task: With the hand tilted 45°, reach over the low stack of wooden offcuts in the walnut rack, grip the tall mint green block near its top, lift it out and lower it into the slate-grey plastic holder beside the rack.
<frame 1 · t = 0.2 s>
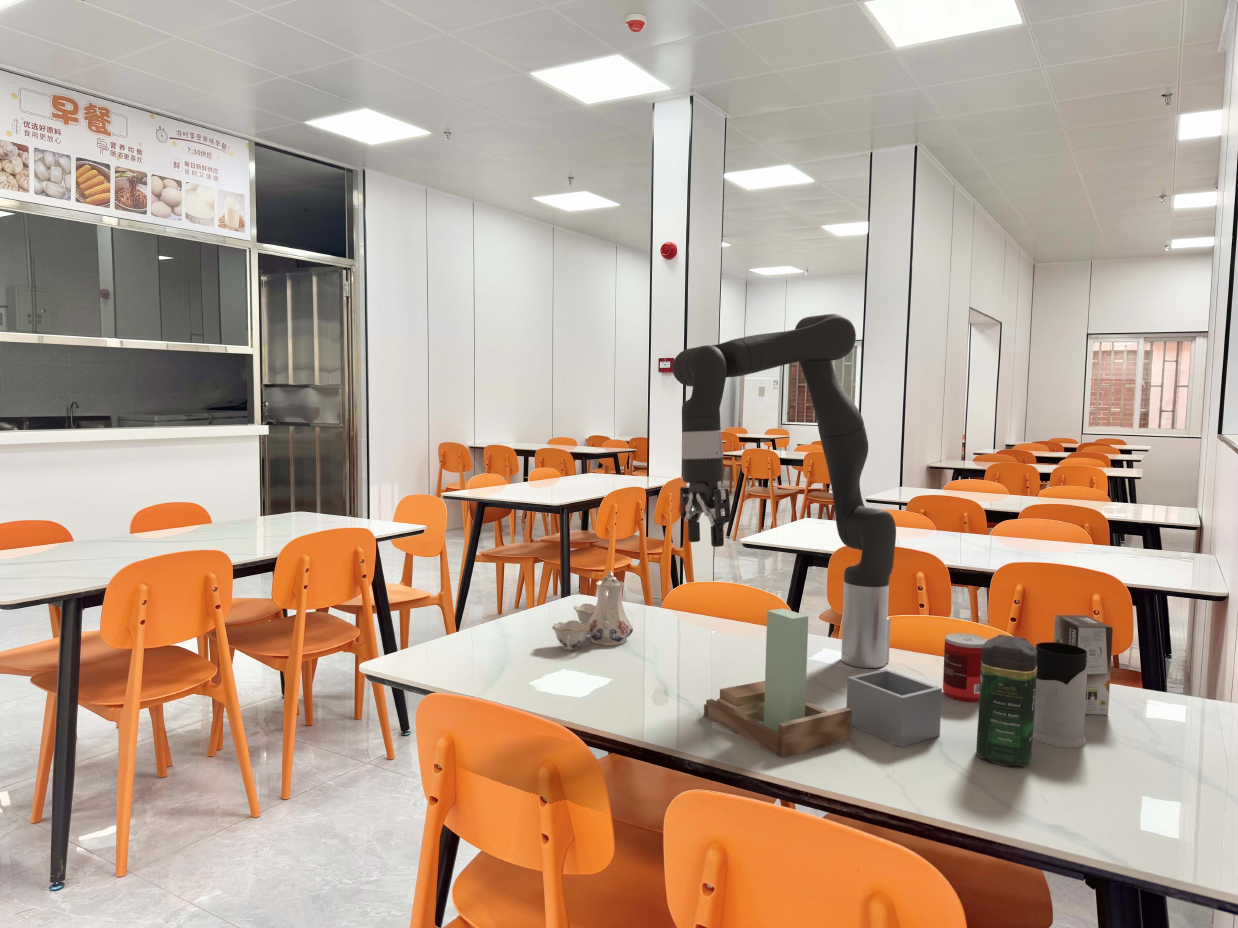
hand: (705, 543, 151), 29 cm above the table, tool pointing down, fingers open, 8 cm apart
offcut stack: (751, 715, 144), resting in walnut rack
canned food: (964, 696, 157), on the table
coffee box: (1078, 706, 152), on the table
grey holder: (892, 729, 139), on the table
coffee jar: (1004, 756, 129), on the table
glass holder: (1038, 733, 139), on the table
tall mint green block: (783, 731, 137), resting in walnut rack
chinaware: (596, 640, 191), on the table
walnut rack: (775, 727, 139), on the table
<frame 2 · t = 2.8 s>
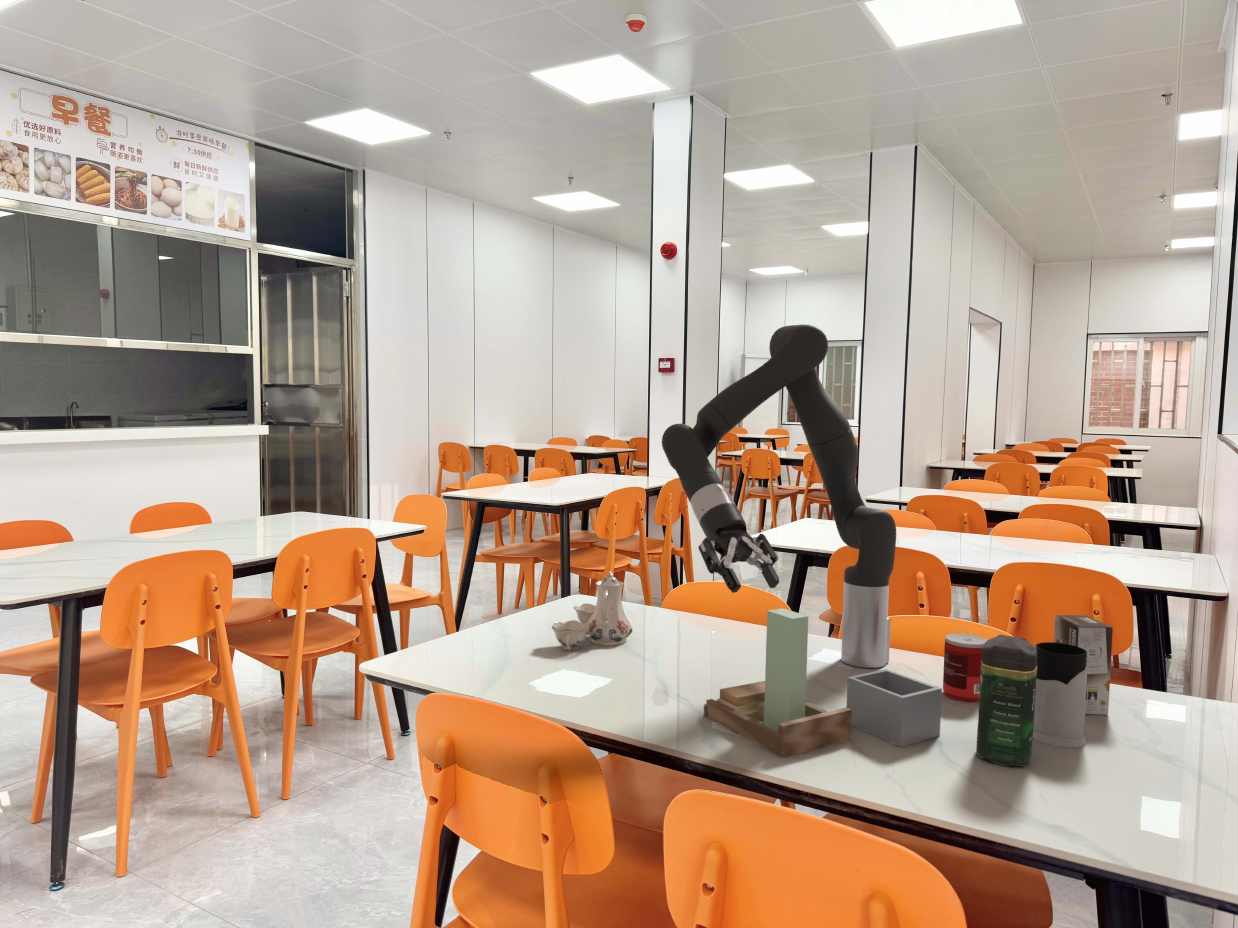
hand: (756, 587, 142), 23 cm above the table, tool tilted 45°, fingers open, 8 cm apart
nothing on the table moved.
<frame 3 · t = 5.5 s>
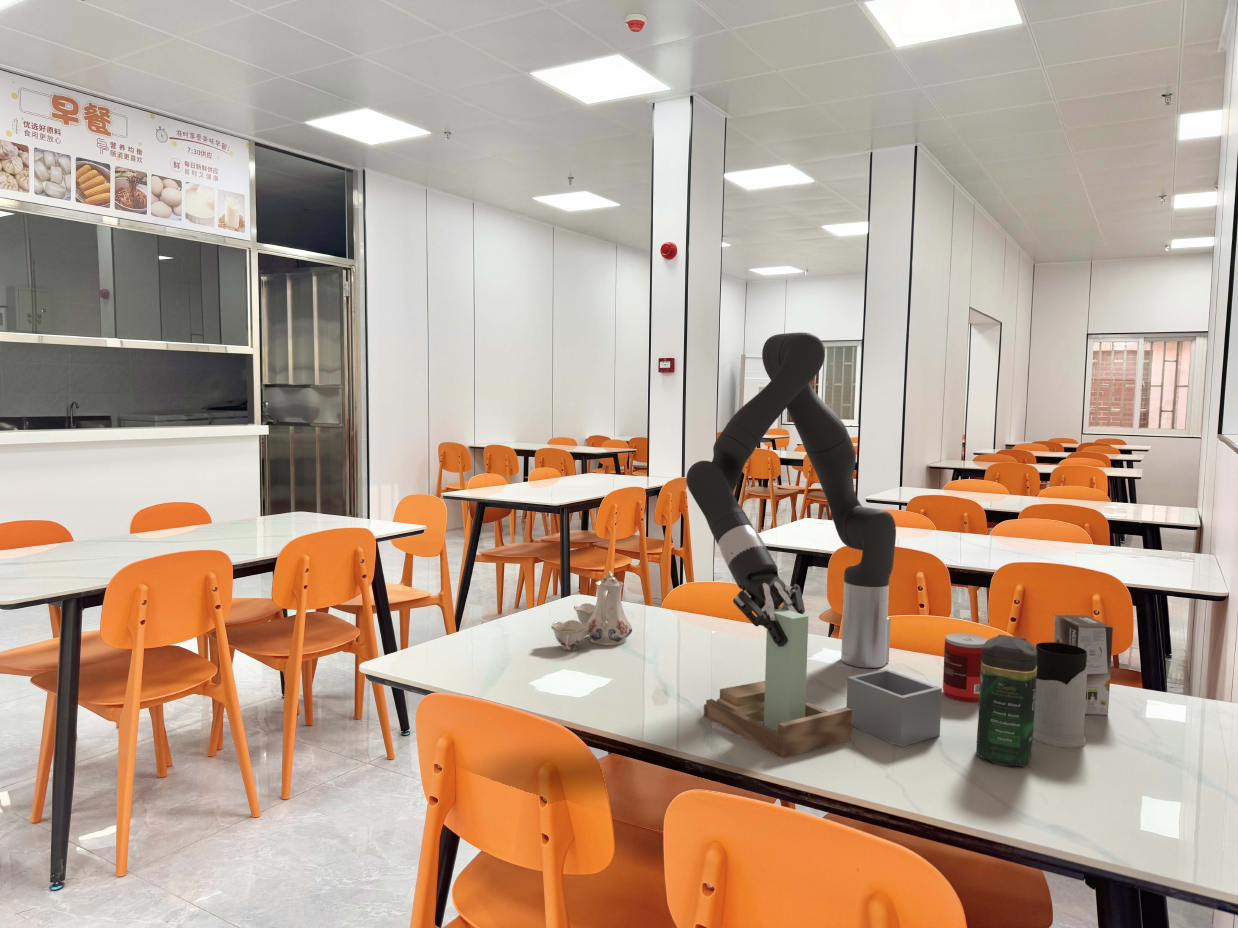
hand: (793, 642, 135), 16 cm above the table, tool tilted 45°, fingers closed on tall mint green block, 3 cm apart
tall mint green block: (783, 731, 137), resting in walnut rack, touching gripper
everything else where it was.
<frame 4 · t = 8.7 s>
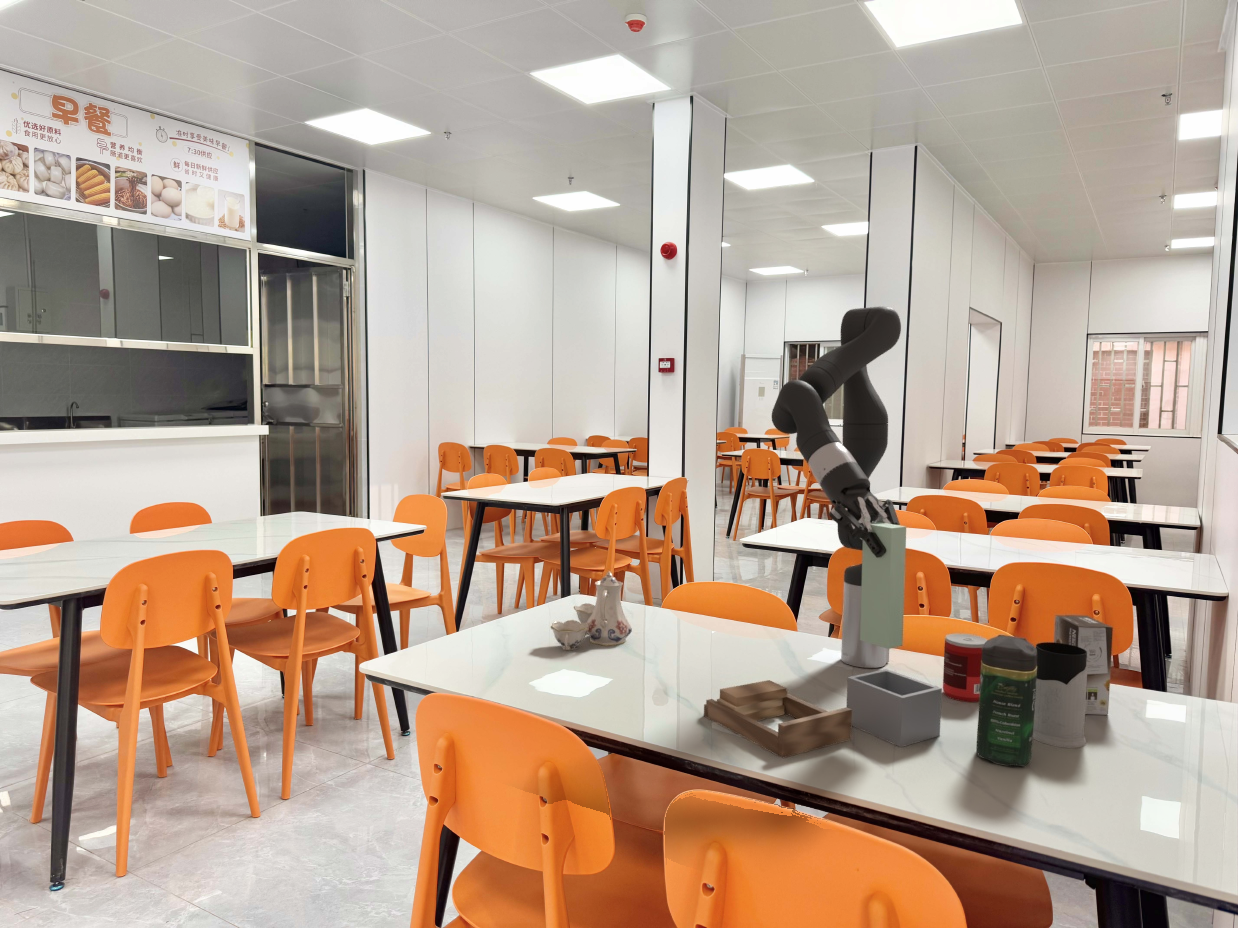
hand: (890, 553, 136), 30 cm above the table, tool tilted 45°, fingers closed on tall mint green block, 3 cm apart
tall mint green block: (881, 642, 138), point 15 cm above the table, touching gripper
everything else where it was.
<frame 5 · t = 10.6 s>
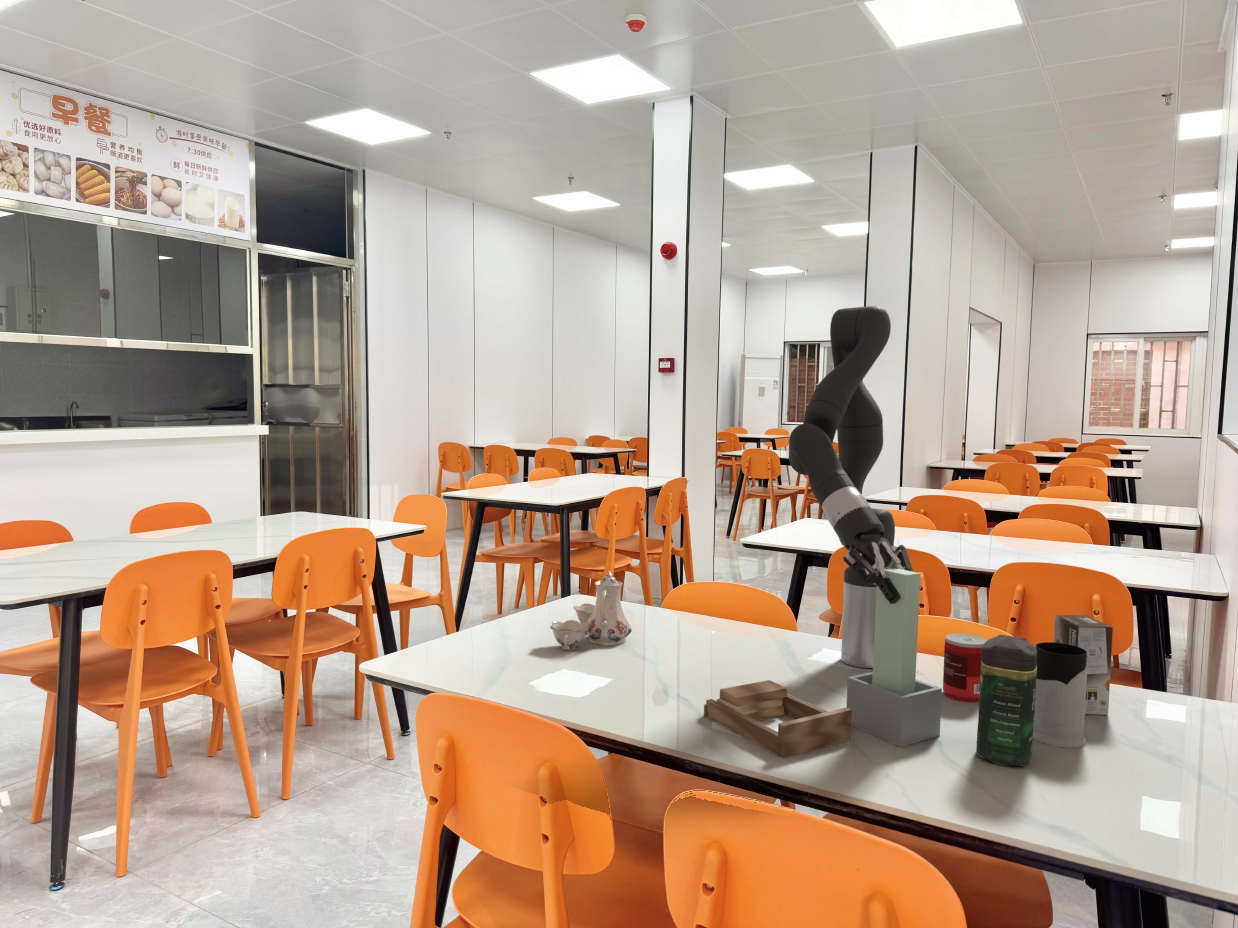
hand: (904, 599, 136), 22 cm above the table, tool tilted 45°, fingers closed on tall mint green block, 3 cm apart
tall mint green block: (893, 688, 138), point 7 cm above the table, touching gripper
everything else where it was.
when the fingers open (17 cm above the table, at t = 12.0 s): tall mint green block drops 1 cm, resting in grey holder.
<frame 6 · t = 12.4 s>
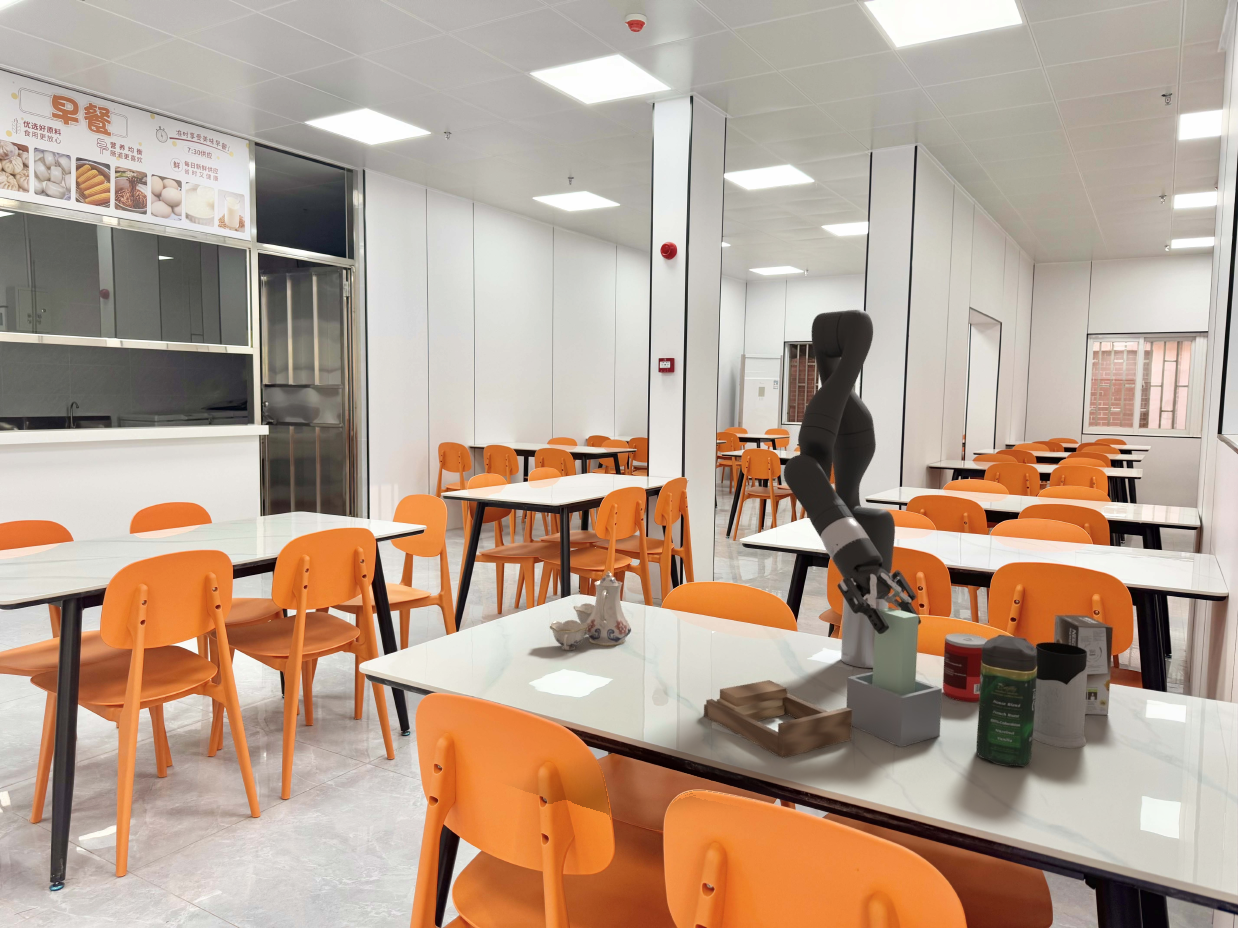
hand: (900, 628, 137), 18 cm above the table, tool tilted 45°, fingers open, 7 cm apart
tall mint green block: (891, 728, 139), resting in grey holder
everything else where it was.
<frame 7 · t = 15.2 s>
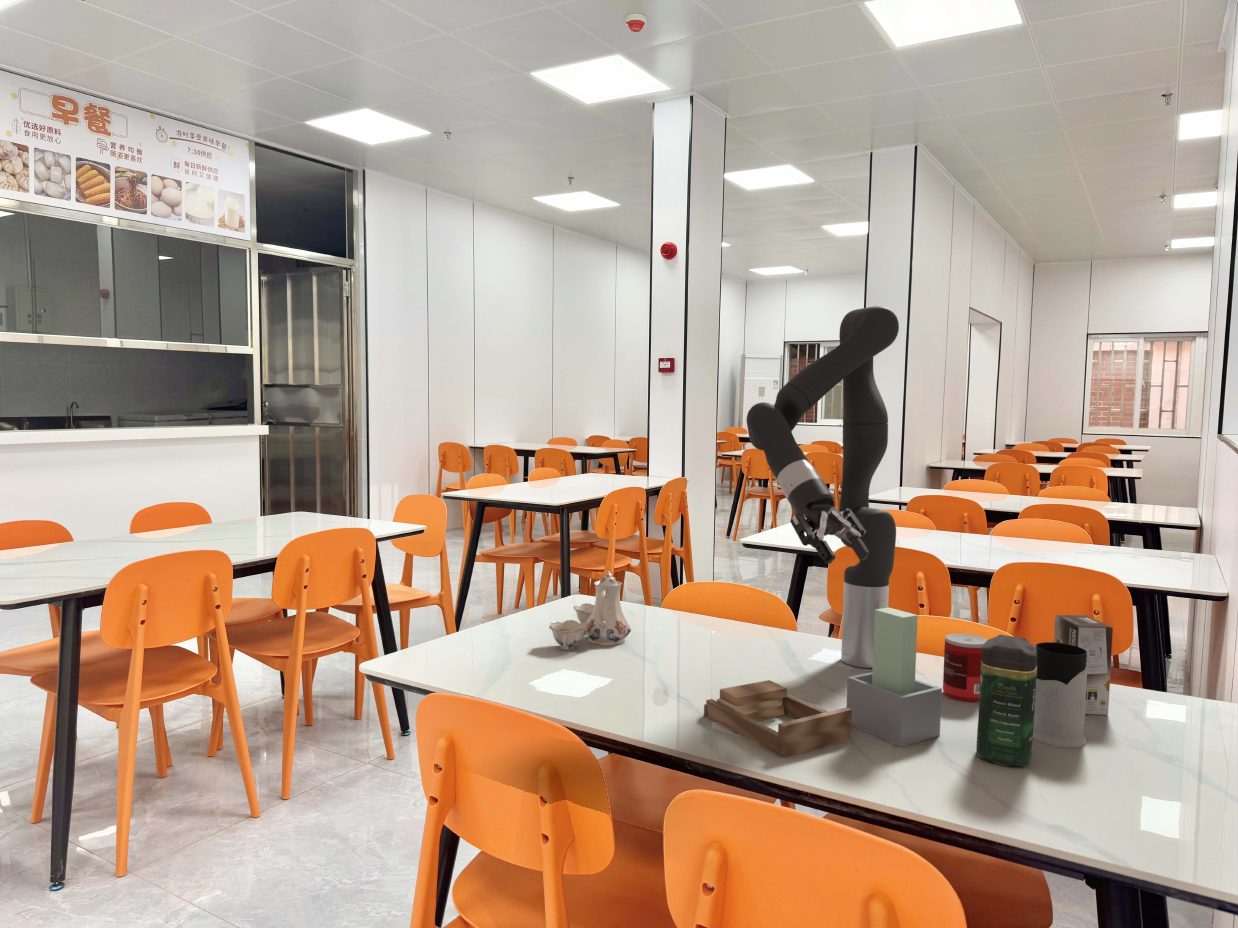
hand: (848, 559, 147), 27 cm above the table, tool tilted 45°, fingers open, 8 cm apart
nothing on the table moved.
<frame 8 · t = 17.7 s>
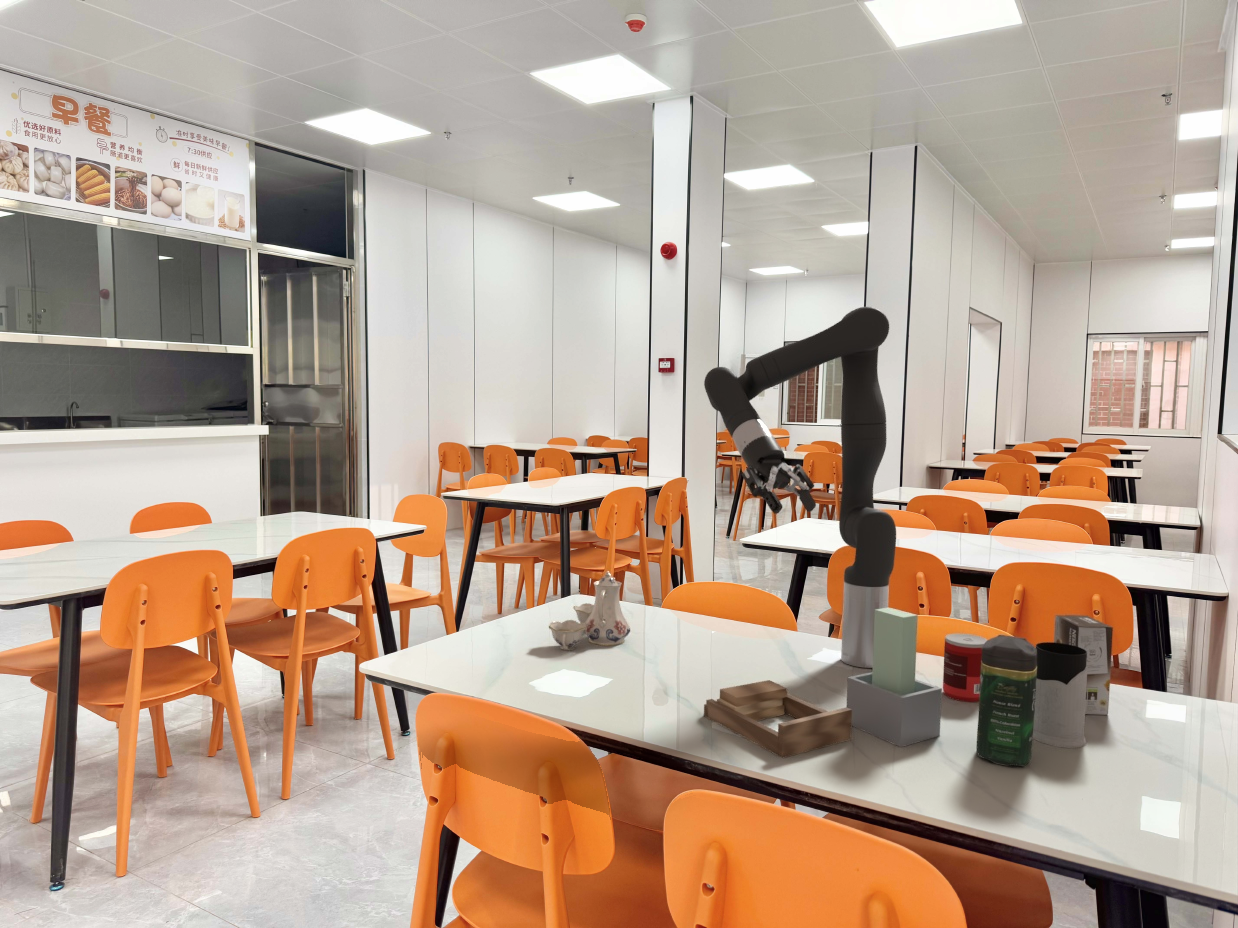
hand: (795, 509, 156), 35 cm above the table, tool tilted 45°, fingers open, 8 cm apart
nothing on the table moved.
at the end: tall mint green block inside the target area on the grey holder (0.2 cm from its centre), point 0.0 cm above the grey holder's base; tall mint green block tilted 0°; the gripper is holding nothing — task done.
